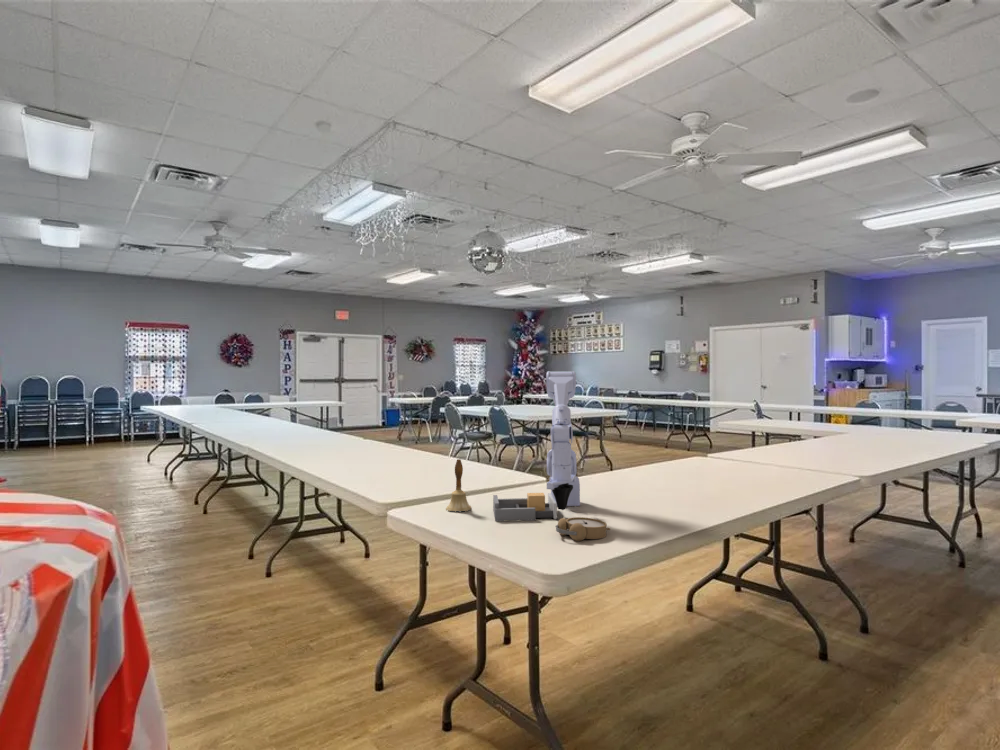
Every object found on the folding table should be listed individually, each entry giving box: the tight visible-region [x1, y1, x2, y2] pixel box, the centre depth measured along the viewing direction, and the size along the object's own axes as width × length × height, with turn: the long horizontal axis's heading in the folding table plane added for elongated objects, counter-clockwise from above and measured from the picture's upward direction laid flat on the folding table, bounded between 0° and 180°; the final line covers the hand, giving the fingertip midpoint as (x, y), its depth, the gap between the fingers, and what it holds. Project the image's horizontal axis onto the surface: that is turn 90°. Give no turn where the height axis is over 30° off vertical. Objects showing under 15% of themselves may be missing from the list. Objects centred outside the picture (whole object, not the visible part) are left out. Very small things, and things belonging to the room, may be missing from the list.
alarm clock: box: [555, 516, 611, 542], centre depth 153 cm, size 11×5×15 cm
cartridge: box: [526, 492, 546, 511], centre depth 175 cm, size 5×4×5 cm
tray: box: [515, 492, 558, 520], centre depth 175 cm, size 11×13×5 cm
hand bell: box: [445, 458, 473, 513], centre depth 182 cm, size 8×8×16 cm
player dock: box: [492, 494, 536, 522], centre depth 174 cm, size 12×13×5 cm
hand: (561, 509), depth 171 cm, fingers closed
